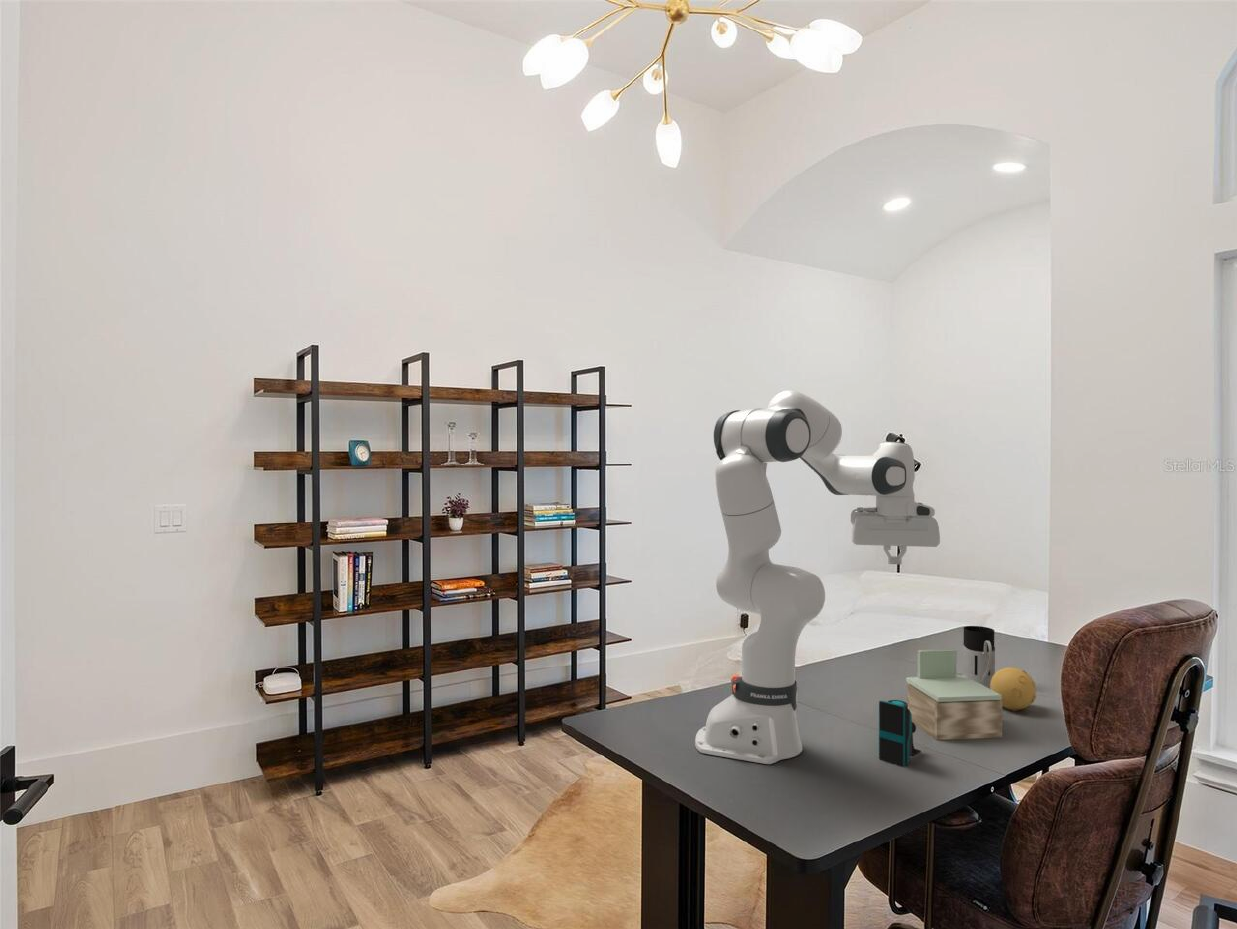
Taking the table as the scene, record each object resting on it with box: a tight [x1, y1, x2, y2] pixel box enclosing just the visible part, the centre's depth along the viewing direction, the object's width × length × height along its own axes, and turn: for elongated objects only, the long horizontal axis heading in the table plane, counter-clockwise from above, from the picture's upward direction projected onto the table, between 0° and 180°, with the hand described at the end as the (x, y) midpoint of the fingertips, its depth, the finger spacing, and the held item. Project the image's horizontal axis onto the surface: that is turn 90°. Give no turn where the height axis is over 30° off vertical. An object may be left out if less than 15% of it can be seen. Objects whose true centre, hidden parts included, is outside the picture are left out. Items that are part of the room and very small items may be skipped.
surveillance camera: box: [878, 699, 921, 768], centre depth 151 cm, size 6×12×10 cm
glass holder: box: [962, 625, 996, 689], centre depth 195 cm, size 9×14×15 cm, turn 170°
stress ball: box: [990, 666, 1037, 712], centre depth 179 cm, size 10×10×10 cm
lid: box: [905, 648, 1002, 702], centre depth 167 cm, size 15×14×7 cm
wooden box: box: [907, 683, 1003, 741], centre depth 167 cm, size 15×13×8 cm
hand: (894, 564), depth 180 cm, fingers closed
